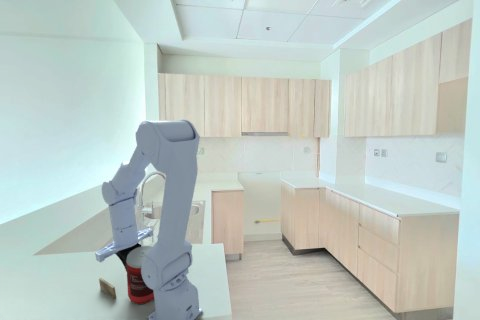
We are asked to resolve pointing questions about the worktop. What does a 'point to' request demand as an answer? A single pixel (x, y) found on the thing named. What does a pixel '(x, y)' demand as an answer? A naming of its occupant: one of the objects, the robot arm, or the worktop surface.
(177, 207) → the robot arm
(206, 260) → the worktop surface
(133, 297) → the canned food
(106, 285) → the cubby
